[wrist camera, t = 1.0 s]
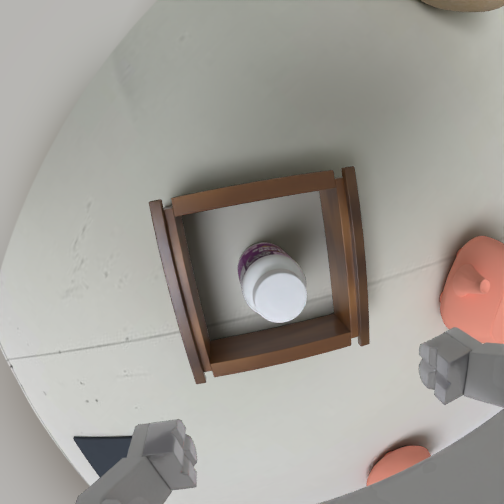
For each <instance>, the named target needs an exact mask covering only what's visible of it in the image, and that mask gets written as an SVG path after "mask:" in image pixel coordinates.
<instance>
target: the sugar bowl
mask: <svg viewBox="0 0 504 504" xmlns="http://www.w3.org/2000/svg"><path fill="white" fill-rule="evenodd" d="M430 456H431V455H430V453H429V451H428V450H427V449H426V448H424V447H422V446H405V447H401V448H399V449H397V450H394V451H390V452H388V453H386V454H385V455H384V457H383V458H382V459H381V460H380V461H379V462H378V463H377V464H376V465H375V466H374V467H373V468H372V470H371V472H370V474H369V476H368V479H367V486H369V485H372V484H374V483H376V482H379V481H381V480H383V479H386V478H388V477H390V476H392V475H395V474H397V473H399V472H401V471H403V470H405V469H407V468H409V467H411V466H413V465H415V464H417V463H419V462H421V461H423V460H425V459H427V458H428V457H430Z"/></svg>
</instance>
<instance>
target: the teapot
mask: <svg viewBox="0 0 504 504" xmlns="http://www.w3.org/2000/svg"><path fill="white" fill-rule="evenodd" d="M440 303H441V306H440V310H441V316H442V319H443V322H444V324H445V325H446V327H447V328H448V329H451V328H453V327H457V328H459V329H460V330H462V331H463V332H465V333H467V334H468V335H470V336H471V337H473V338H474V339H476V340H477V341H479V342H481V343H486V342H487V343H499V344H504V244H503V243H501V242H499V241H497V240H495V239H493V238H490V237H487V236H477V237H475V238H473V239H471V240H470V241H468V242H467V243H466V244H465V245H464V246H463V248H460V249H459V250H458V252H457V255H456V260H455V261H454V263H453V265H452V268H451V270H450V272H449V275H448V277H447V280H446V284H445V287H444V291H443V292H442V293H441V295H440Z"/></svg>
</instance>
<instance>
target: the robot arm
mask: <svg viewBox="0 0 504 504" xmlns="http://www.w3.org/2000/svg"><path fill="white" fill-rule="evenodd" d="M419 355H420V356H421V357H422V360H421V362H420V364H419V375H420V378H421V380H422V382H423V384H424V385H425V386H426V387H427V388H429V389H433V390H435V391H434V395H435V396H436V397H437V398H438V399H439V400H440V401H441V402H442V403H443V404H444V405H446V404H448V403H449V402H451V401H453V400H455V399H457V398H458V397H460V396H462V395H464V396H466V397H470V398H473V399H476V400H479V401H483V402H486V403H490V404H493V405H496V406H500V407H504V344H499V343H487V342H486V343H484V344H482V343H481V342H479V341H477V340H476V339H474V338H473V337H471V336H470V335H468V334H467V333H465V332H463V331H462V330H460V329H459V328H457V327H453V328H451V329H449V330H448V331H446V332H444V333H443V334H441V335H439V336H437V337H435V338H433V339H431V340H429V341H427V342H424V343H422V344H421V345H420V348H419ZM185 431H186V427H185V425H184V424H183V422H182V420H180V419H177V420H169V421H162V422H154V423H147V424H138V425H137V426H135V429H134V432H133V436H132V440H131V443H130V447H129V450H128V454H127V458H122V459H121V460H120V461H119V462H117V463H116V464H115V465H114V466H113V467H112V468H111V469H110V470H108V471H107V472H106V473H105V474H104V475H103V476H102V477H100V478H99V479H98V480H97V481H96V482H95V483H93V484H92V485H91V486H90V487H89V488H88V489H86V490H85V491H84V492H83V493H82V494H81V495H79V496H78V498H77V501H76V504H163V503H164V502H165V501H166V499H167V498H168V496H169V495H170V494H171V492H172V491H171V490H178V489H186V488H194V487H196V484H197V472H196V470H195V468H194V465H195V464H196V463H197V453H196V448H195V445H194V442H193V440H192V438H191V437H190V436H188V435H187V434H185ZM318 504H504V409H503V410H501V411H500V412H499V413H497V414H496V415H495V416H493V417H492V418H490V419H489V420H488V421H486V422H485V423H483V424H482V425H481V426H479V427H478V428H476V429H475V430H473V431H472V432H470V433H469V434H467V435H466V436H464V437H462V438H461V439H459V440H458V441H456V442H454V443H453V444H451V445H449V446H448V447H446V448H444V449H443V450H441V451H439V452H437V453H436V454H434V455H432V456H430V457H428V458H427V459H425V460H423V461H421V462H419V463H417V464H415V465H413V466H411V467H409V468H407V469H405V470H403V471H401V472H399V473H397V474H395V475H392V476H390V477H388V478H386V479H383V480H381V481H379V482H376V483H374V484H372V485H369V486H367V487H364V488H362V489H359V490H356V491H354V492H351V493H348V494H345V495H343V496H340V497H337V498H334V499H331V500H328V501H325V502H321V503H318Z"/></svg>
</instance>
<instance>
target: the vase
mask: <svg viewBox="0 0 504 504" xmlns="http://www.w3.org/2000/svg"><path fill="white" fill-rule="evenodd" d="M421 1H422V2H424V3H426V4H428V5H431V6H433V7H436V8H440V9H445V10H451V11H460V12H484V11H490V10H494V9H497V8H500V7H502V6H504V0H421Z"/></svg>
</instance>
